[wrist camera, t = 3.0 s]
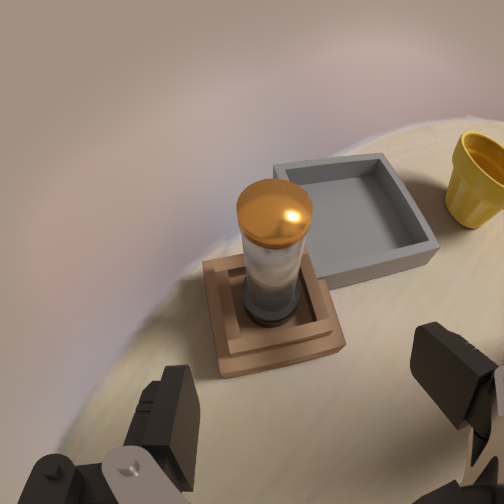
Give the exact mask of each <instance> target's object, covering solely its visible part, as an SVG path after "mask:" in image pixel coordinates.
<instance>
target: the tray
mask: <svg viewBox="0 0 504 504" xmlns="http://www.w3.org/2000/svg"><path fill="white" fill-rule="evenodd" d="M273 179H283V180H287V181H290V182H293V183H295V184H297V185H298V186H300V187H301V188H303V189H304V190H305V191H306V192H307V194H308V195H309V196H310V198H311V201H312V204H313V214H312V219H311V224H310V228H309V231H308V233H307V235H306V239H305V245H306V248H307V251H308V254H309V257H310V259H311V262H312V265H313V268H314V271H315V274H316V277H317V280H321V279H325V281H326V284H327V287H328V290H332V289H336V288H340V287H344V286H348V285H352V284H356V283H360V282H364V281H368V280H372V279H375V278H379V277H383V276H386V275H390V274H394V273H397V272H401V271H404V270H408V269H411V268H415V267H418V266H422V265H425V264H427V263H428V262H429V261H430V259H431V258H432V257H433V256H434V254H435V253H436V252H437V251H438V250H439V248H440V245H439V243H438V241H437V239H436V237H435V236H434V234H433V232H432V230H431V228H430V227H429V225H428V223H427V221H426V219H425V218H424V216H423V214H422V213H421V211H420V209H419V208H418V206H417V204H416V203H415V201H414V199H413V198H412V196H411V194H410V193H409V191H408V190H407V188H406V187H405V185H404V183H403V182H402V180H401V179H400V177H399V176H398V174H397V173H396V171H395V170H394V168H393V167H392V166H391V164H390V163H389V161H388V160H387V158H386V157H385V156H384V154H383V153H375V154H363V155H352V156H342V157H332V158H323V159H315V160H307V161H300V162H292V163H284V164H277V165H273Z"/></svg>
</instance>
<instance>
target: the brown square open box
mask: <svg viewBox="0 0 504 504" xmlns="http://www.w3.org/2000/svg"><path fill="white" fill-rule="evenodd" d="M202 265H203V272H204V279H205V285H206V292H207V298H208V305H209V311H210V317H211V323H212V329H213V335H214V341H215V346H216V352H217V358H218V363H219V368H220V374H221V375H222V376H223V377H224V378H225V379H227V378H232V377H238V376H243V375H248V374H253V373H258V372H263V371H267V370H272V369H276V368H281V367H285V366H289V365H293V364H297V363H301V362H305V361H309V360H313V359H316V358H320V357H324V356H327V355H331V354H334V353H338V352H339V351H340V350H341V349H342V348H343V347H344V346H345V345H346V342H345V339H344V335H343V332H342V329H341V326H340V323H339V320H338V317H337V314H336V311H335V308H334V305H333V302H332V299H331V296H330V293H329V290H328V287H327V284H326V281H325V279H321V280H317V277H316V274H315V271H314V268H313V265H312V262H311V259H310V257H309V254H308V251H307V248H306V245H305V244H304V248H303V253H302V258H301V263H300V268H299V272H298V277H297V279H298V281H299V284H300V288H301V295H300V299H299V303H298V306H297V310H296V312H295V314H294V316H293V317H292V319H291V320H290V321H288V322H287V323H286V324H284V325H282V326H279V327H275V328H266V327H262V326H259V325H257V324H255V323H254V322H253V321H251V320H250V319H249V317H248V316H247V314H246V312H245V310H244V305H243V299H242V293H241V291H242V284H243V281H244V279H245V277H246V269H245V260H244V254H239V255H234V256H229V257H224V258H219V259H213V260H208V261H203V262H202Z"/></svg>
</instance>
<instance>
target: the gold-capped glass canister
mask: <svg viewBox="0 0 504 504" xmlns="http://www.w3.org/2000/svg"><path fill="white" fill-rule="evenodd" d="M312 214H313V204H312V201H311V198H310V196H309V195H308V194H307V192H306V191H305V190H304V189H303V188H301V187H300V186H298V185H297V184H295V183H293V182H290V181H287V180H283V179H265V180H261V181H258V182H255V183H253V184H251V185H250V186H248V187H247V188H246V189H245V190H244V191H243V192H242V193H241V195H240V196H239V198H238V201H237V217H238V223H239V228H240V230H241V234H242V242H243V251H244V260H245V269H246V277H245V279H244V281H243V284H242V291H241V293H242V299H243V305H244V310H245V312H246V314H247V316H248V317H249V319H250V320H251V321H253V322H254V323H255V324H257V325H259V326H262V327H266V328H275V327H279V326H282V325H284V324H286V323H287V322H288V321H290V320H291V319H292V317H293V316H294V314H295V312H296V310H297V306H298V303H299V299H300V295H301V288H300V284H299V281H298V279H297V277H298V272H299V268H300V263H301V258H302V253H303V248H304V244H305V239H306V235H307V233H308V231H309V228H310V224H311V219H312Z"/></svg>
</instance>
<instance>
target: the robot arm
mask: <svg viewBox="0 0 504 504" xmlns="http://www.w3.org/2000/svg"><path fill="white" fill-rule="evenodd" d="M410 369H411V373H412V375H413V377H414V378H415V379H416V380H417V381H418V383H419V384H420V385H421V386H422V387H423V389H424V390H425V391H426V392H427V393H428V395H429V396H430V397H431V398H432V399H433V401H434V402H435V403H436V404H437V405H438V407H439V408H440V409H441V410H442V412H443V413H444V414H445V415H446V416H447V418H448V419H449V420H450V421H451V423H452V424H453V425H454V426H455V428H456V429H457V430H460V429H462V428H464V427H465V426H467V425H469V424H470V425H471V426H472V428H471V430H470V432H469V440H468V451H467V460H466V468H465V474H464V478H463V480H462V482H461V485H460V486H459V484H458V483H457V481H456V480H453V481H451V482H450V483H448V484H446V485H444V486H442V487H440V488H438V489H436V490H434V491H432V492H430V493H428V494H426V495H424V496H422V497H420V498H419V499H418V500H416V501H415V502H414V503H412V504H504V365H501V366H498V365H496V364H495V363H494V362H493V361H492V360H490V359H489V358H488V357H487V356H485V355H484V354H483V353H482V352H480V351H479V350H478V349H475V347H474V346H473V345H472V344H470V343H468V341H467V340H465V339H464V338H463V337H461V336H460V335H458V334H456V333H453V332H450V331H448V330H447V329H445V328H444V327H443V326H442V325H440V324H439V323H438V322H431V323H428V324H424V325H421V326H418V327H417V328H416V330H415V334H414V341H413V347H412V353H411V359H410ZM199 423H200V404H199V399H198V395H197V392H196V388H195V385H194V381H193V377H192V374H191V370H190V367H189V366H188V365H176V366H166V367H165V369H164V372H163V375H162V378H161V381H152V382H151V383H150V384H149V385H148V386H147V387H146V388H145V389H144V390H143V391H142V394H141V397H140V400H139V404H138V405H137V408H136V413H134V416H133V419H132V422H131V424H130V427H129V430H128V433H127V436H126V439H125V441H124V444H123V446H122V447H119V448H116V449H114V450H112V451H111V452H110V453H108V454H107V456H106V457H105V458H104V460H103V462H102V463H98V464H89V465H79V466H75V465H74V464H73V462H72V461H71V460H70V459H69V458H68V457H66V456H64V455H62V454H49V455H46V456H44V457H42V458H41V459H40V460H38V461H37V462H36V464H35V465H34V467H33V469H32V471H31V474H30V476H29V478H28V480H27V482H26V485H25V487H24V489H23V492H22V494H21V496H20V499H19V501H18V504H190V503H189V502H188V501H187V500H186V499H185V497H184V496H183V495H182V491H184V492H193V487H194V475H195V464H196V453H197V443H198V433H199Z"/></svg>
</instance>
